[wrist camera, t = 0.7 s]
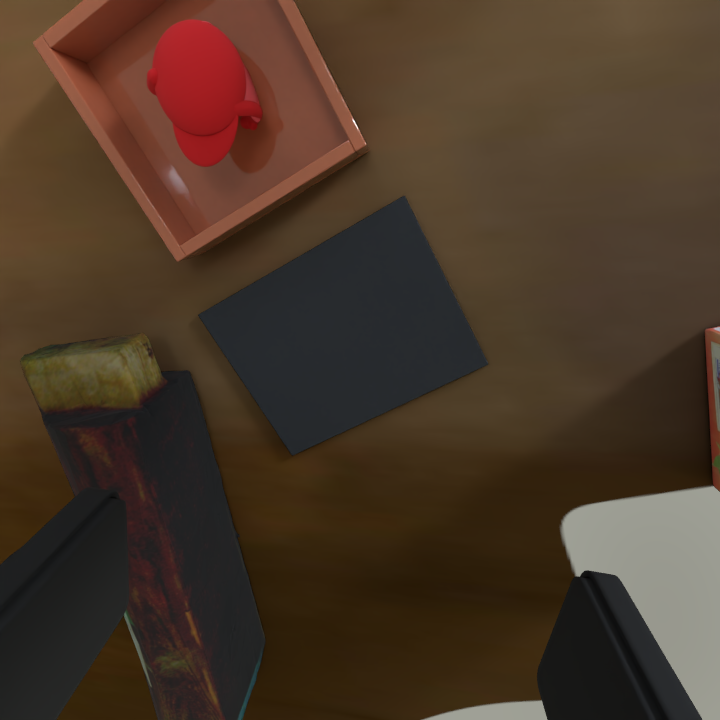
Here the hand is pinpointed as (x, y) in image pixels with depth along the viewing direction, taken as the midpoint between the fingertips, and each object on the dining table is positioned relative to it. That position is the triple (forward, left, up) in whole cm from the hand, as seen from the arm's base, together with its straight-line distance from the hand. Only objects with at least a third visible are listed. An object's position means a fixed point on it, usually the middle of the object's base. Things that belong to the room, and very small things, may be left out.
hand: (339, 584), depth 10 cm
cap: (+3, -17, -27) cm, 32 cm away
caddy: (+3, -17, -27) cm, 32 cm away
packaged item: (+26, +10, -27) cm, 39 cm away
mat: (+4, +1, -27) cm, 27 cm away
